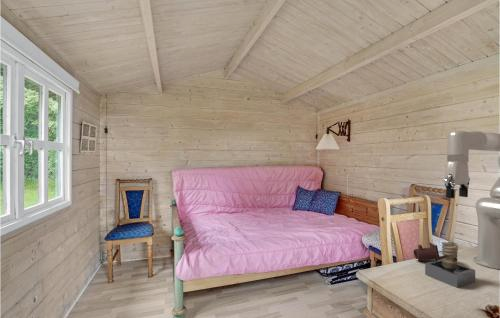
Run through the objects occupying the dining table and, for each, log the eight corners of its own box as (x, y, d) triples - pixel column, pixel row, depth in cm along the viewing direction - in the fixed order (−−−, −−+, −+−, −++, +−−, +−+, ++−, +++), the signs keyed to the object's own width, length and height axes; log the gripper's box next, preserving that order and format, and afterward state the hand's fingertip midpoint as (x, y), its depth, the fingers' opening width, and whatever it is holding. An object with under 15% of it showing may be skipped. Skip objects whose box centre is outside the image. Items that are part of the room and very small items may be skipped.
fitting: (442, 269, 118) (442, 258, 118) (475, 282, 107) (475, 269, 107) (425, 274, 114) (425, 263, 113) (457, 287, 102) (457, 275, 102)
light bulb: (461, 279, 108) (461, 243, 108) (451, 281, 107) (451, 244, 107) (447, 273, 114) (447, 239, 114) (438, 275, 112) (438, 240, 112)
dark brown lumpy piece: (460, 264, 121) (456, 242, 122) (420, 267, 125) (416, 247, 125) (453, 259, 127) (449, 238, 128) (415, 262, 131) (411, 242, 131)
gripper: (459, 159, 123) (458, 195, 124) (436, 159, 116) (435, 197, 117) (478, 159, 116) (477, 197, 117) (455, 159, 110) (454, 199, 110)
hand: (456, 197), depth 117 cm, fingers open, 9 cm apart
